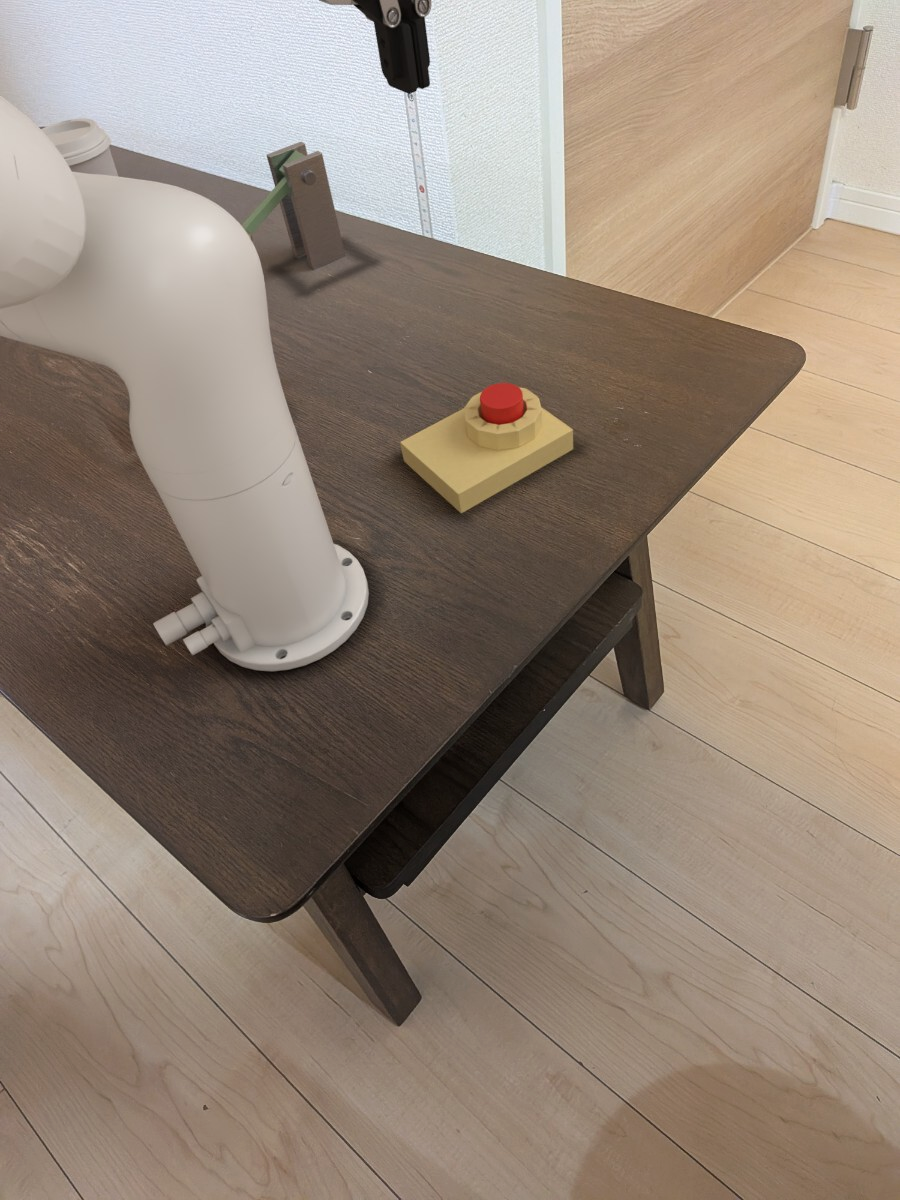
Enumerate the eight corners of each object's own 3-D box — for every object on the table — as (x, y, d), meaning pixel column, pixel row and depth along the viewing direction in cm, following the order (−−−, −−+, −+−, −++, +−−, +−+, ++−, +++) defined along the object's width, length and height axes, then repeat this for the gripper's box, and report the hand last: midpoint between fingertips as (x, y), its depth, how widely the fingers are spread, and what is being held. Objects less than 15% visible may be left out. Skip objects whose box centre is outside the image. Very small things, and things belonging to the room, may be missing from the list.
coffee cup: (164, 235, 110) (116, 113, 98) (135, 272, 104) (80, 146, 92) (101, 238, 112) (46, 118, 100) (68, 274, 106) (6, 151, 94)
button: (498, 431, 69) (496, 414, 67) (473, 412, 71) (471, 395, 69) (532, 412, 70) (531, 395, 68) (506, 394, 72) (505, 377, 70)
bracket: (304, 292, 95) (273, 178, 85) (274, 268, 100) (241, 158, 90) (370, 263, 98) (347, 149, 88) (338, 241, 102) (312, 130, 93)
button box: (461, 513, 68) (455, 477, 65) (403, 461, 73) (396, 425, 70) (573, 449, 71) (573, 412, 68) (510, 403, 77) (507, 367, 74)
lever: (243, 265, 92) (224, 245, 89) (232, 255, 93) (212, 235, 91) (322, 176, 91) (304, 153, 88) (308, 168, 93) (291, 145, 90)
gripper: (430, -321, 48) (465, 44, 62) (197, -273, 43) (290, 108, 57) (508, -332, 43) (526, 64, 57) (257, -279, 39) (343, 135, 53)
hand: (408, 85), depth 57 cm, fingers closed
